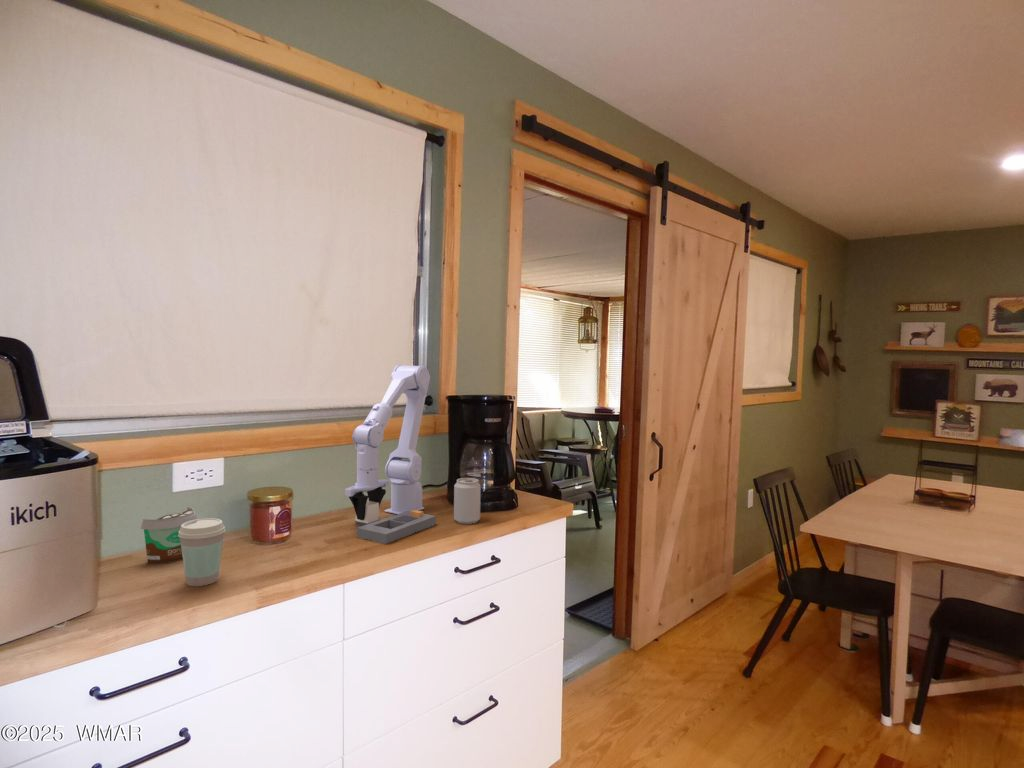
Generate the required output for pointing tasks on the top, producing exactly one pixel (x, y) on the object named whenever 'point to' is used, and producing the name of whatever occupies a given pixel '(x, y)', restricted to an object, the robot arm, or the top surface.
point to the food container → (165, 536)
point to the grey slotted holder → (396, 526)
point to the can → (467, 500)
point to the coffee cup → (201, 550)
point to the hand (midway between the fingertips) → (367, 517)
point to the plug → (369, 514)
